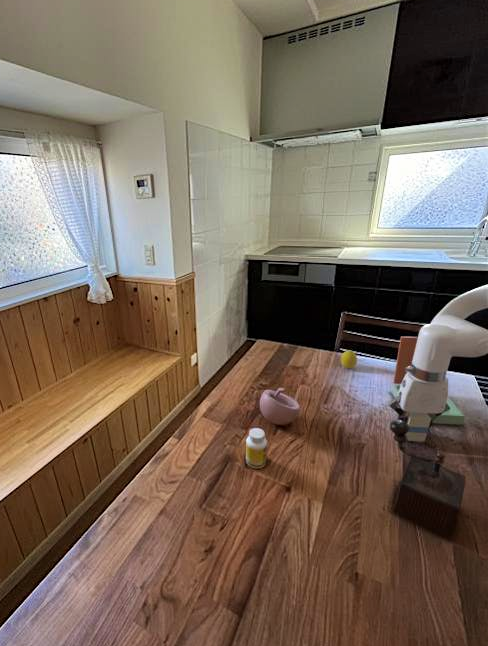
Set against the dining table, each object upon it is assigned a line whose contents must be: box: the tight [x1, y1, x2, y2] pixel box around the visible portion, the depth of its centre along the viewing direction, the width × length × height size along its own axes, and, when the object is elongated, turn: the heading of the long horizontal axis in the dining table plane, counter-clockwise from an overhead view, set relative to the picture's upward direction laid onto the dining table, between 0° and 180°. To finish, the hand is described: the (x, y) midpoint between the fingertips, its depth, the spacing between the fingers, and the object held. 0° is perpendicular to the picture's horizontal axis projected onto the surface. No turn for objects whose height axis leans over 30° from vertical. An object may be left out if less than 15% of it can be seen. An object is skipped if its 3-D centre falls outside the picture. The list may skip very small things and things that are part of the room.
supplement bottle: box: [245, 427, 268, 469], centre depth 89 cm, size 5×5×10 cm
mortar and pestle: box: [259, 387, 301, 426], centre depth 103 cm, size 12×12×11 cm
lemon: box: [340, 349, 358, 370], centre depth 129 cm, size 6×6×8 cm
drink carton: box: [406, 412, 431, 443], centre depth 93 cm, size 5×5×8 cm
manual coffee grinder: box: [389, 419, 466, 540], centre depth 73 cm, size 16×11×18 cm
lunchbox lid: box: [392, 336, 418, 385], centre depth 108 cm, size 16×14×1 cm
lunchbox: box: [391, 384, 466, 426], centre depth 105 cm, size 16×14×4 cm
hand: (412, 427), depth 94 cm, fingers closed on drink carton, 5 cm apart
